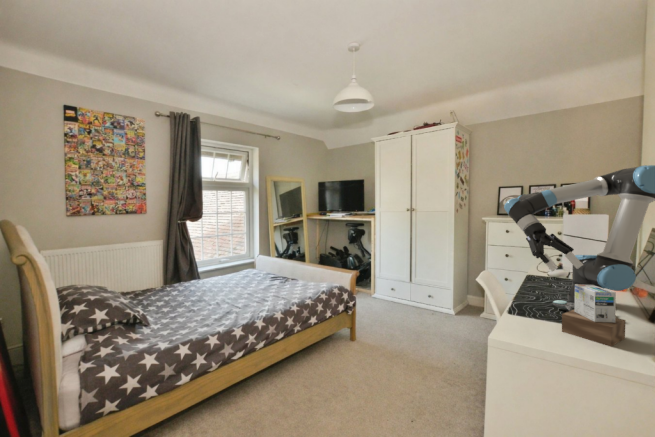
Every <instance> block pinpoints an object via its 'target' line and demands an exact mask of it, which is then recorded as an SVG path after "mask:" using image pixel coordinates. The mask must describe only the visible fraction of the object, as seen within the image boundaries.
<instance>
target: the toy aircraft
mask: <svg viewBox="0 0 655 437" xmlns="http://www.w3.org/2000/svg"><path fill="white" fill-rule="evenodd" d="M552 305H553V306H555V307H556V308H558V309H561V310H568V312H569V311H572V310H574V306H575V303H573V302H571V301H569V302H568V301H567V300H561V299H560V300H558V299H557V300H554V301H552Z"/></svg>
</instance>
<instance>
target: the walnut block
mask: <svg viewBox="0 0 655 437" xmlns="http://www.w3.org/2000/svg"><path fill="white" fill-rule="evenodd" d="M561 332H563V333H564V334H568V335H571V336H575V337H579V338H581V339H584V340H587V341H591V342H594V343H597V344H601V345H604V346H607V347H610V348H612V347H613V346H615V345H617V344H619V343H621V342H622V341H624V340H625V339H626V319H623V318H618V317H615V323H611V322H594V321H592V320H590V319H588V318H586V317H584V316H582V315H580V314H578V313H576V312H574V310H572V311H569V310H568V311H566V312H563V313H561Z"/></svg>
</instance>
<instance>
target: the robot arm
mask: <svg viewBox="0 0 655 437" xmlns="http://www.w3.org/2000/svg"><path fill="white" fill-rule="evenodd" d="M613 195H615V196H618V197H619V198H620V201H619V202H620V203H619V206H618V208H617V211H616V214H615V216H614V220H613V222H612V225H611V228H610V232H609V234H608V237H607V239H606V243H605V245H604V248H603V251H602V252H599V253H597V255H596V254H574V253H573V252H574V248H573V247H571V246H570V245H569V244H567V243H566V242H564V241H563V240H562V239H560V238H559V237H557V235H555V234H554V233H551V234H548V233H547V228H546V227H545V225H544V224H542V223H541V221H540V220H539V219H538V218H537V217H536V215H534V214H537V213H539V212H541V211H544V210H547V209H548V208H549V209H550V208H551V207H552V206H555V205H557V204H562V203H567V202H572V201H576V200H583V199H585V198H586V199H587V198H591V197H596V196H599V197H606V196H613ZM653 202H655V165H654V164H651V165H649V164H648V165H645V164H644V165H639V166H636V167H635V166H634V167H629V168H623V169H618V170H615V171H613V172H610V173H606V174H603V175H599V176H595V177H594V178H593V179H590V180H586V181H581V182H577V183H573V184H568V185H564V186H563V185H562V186H559V187H553V188H550V189H546V190H545V189H544V190H541V191H537V192H531V193H527V194H524V193H523V194H521V195H519V196H518V197H514V198H511V199H508V200H507V201H506V203H504V207H503V209H504V211H505V212H506V213H507V215H508V216H509V217H510V218H511V219H512V221H514V222H515V224H516V225H517V226H518V227H519V229H520V230H521V231H522V232H523V234H524V235H525V236H526V238H525V240H526V241H527V242H528V246H529V248H530V251H531V254H532V256H533V257H535V258H536V259H539V258H540V260H541V261H542V262H543V263H544V264H545V265H546V266H547V268H548V269H549V270H550V272H555V270H557V269H558V268H559V266H557V264H556V263H555V261H553V259H552V258H551V257H550V256H549V255H548V254H547V253H545V250H544V249H545V248H544V246H547V247H552V248H553V249H555V250H557V251H559V252H561V254H564V257H565V258H566V259H567V260H568V261H569V263H571V265H572V277H571V278H572V279H571V280H572V282H571V283H572V284H571V287H570V288H569V291H568V294H567V301H569V302H570V303H575V284H582V285H595V286H598V287H600V288H604V289H606V290H610V291H613V292H621V291H625V290H628V289H630V288H631V287H632V286H633V285H634V284H635V282H636V279H637V276H636V273H635V271H634V269H632V268H633V265H634V262H633V261H632V259H631V257H632V256H631V255H632V252H633V250H634V248H635V244H636V242H637V239H638V236H639V233H640V231H641V228H642V226H643V222H644V219H645V216H646V214H647V212H648V208H649V205H650V204H651V203H653Z"/></svg>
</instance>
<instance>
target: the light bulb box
mask: <svg viewBox="0 0 655 437" xmlns="http://www.w3.org/2000/svg"><path fill="white" fill-rule="evenodd" d="M616 292H617V291H614V290H609V289H605V288H600V287H598V286H595V285H582V284H575V306H574V312H576V313H578V314H580V315H582V316H584V317H586V318H588V319H590V320H592V321H594V322H611V323H615V318H616V304H617V302H616V301H617V300H616V296H617V293H616Z"/></svg>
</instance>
